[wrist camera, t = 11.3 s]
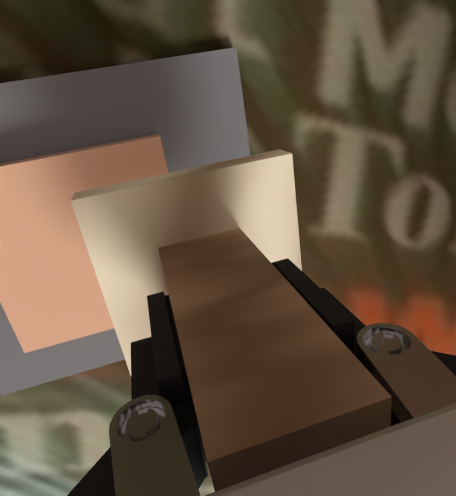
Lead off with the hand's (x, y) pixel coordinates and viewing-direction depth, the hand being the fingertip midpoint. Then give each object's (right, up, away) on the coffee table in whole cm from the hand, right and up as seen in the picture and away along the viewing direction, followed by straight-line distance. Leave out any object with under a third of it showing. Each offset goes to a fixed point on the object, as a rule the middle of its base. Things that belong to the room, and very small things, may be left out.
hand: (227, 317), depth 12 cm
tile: (-7, +2, +8) cm, 11 cm away
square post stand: (-1, +2, +4) cm, 4 cm away
